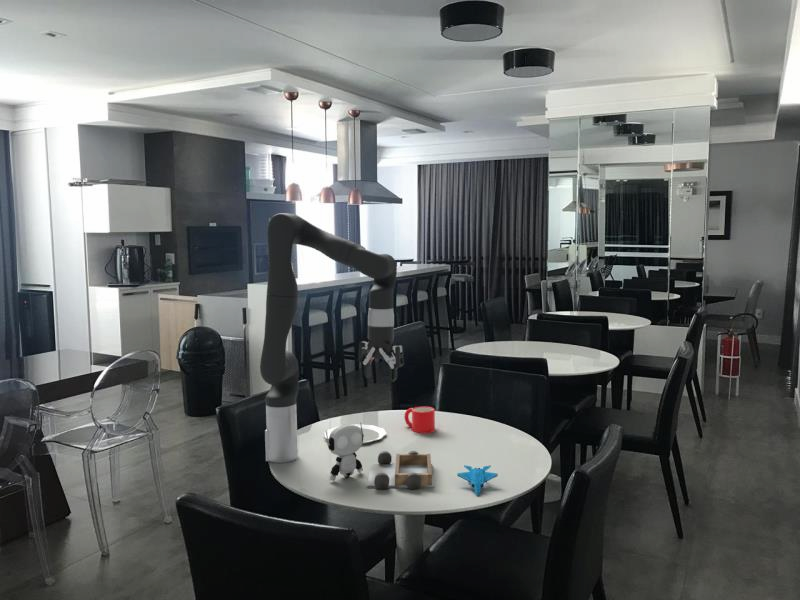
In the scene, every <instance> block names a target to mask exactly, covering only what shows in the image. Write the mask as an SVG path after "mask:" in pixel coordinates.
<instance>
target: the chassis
mask: <svg viewBox="0 0 800 600" xmlns="http://www.w3.org/2000/svg"><path fill="white" fill-rule="evenodd" d="M392 458H393V457H392V454H391V452H389V451H387V450H383V451H380V452H379V453H378V456H377V462H378V463H371V464H370V470H369V473H368V474H369V475H368V480H367V485H366V486H367V487H366V488H370V489H374V488H376V489H377V490H380V491H382V490H386V489H387V488H388V489H389V488H391V489H393V488H395V489H396V488H400V489H401V488H402V489H403V488H405V489H406V488H408V489H409V490H412V491H415V490H417V489H419V488H422V489H423V488H427V489H428V488H435V482H434V469H433V463H432V460H431V458H432V457H431V453H419V452H418V451H416V450H411V451H409V452H408V453H396V456H395V463H392Z"/></svg>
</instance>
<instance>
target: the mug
mask: <svg viewBox="0 0 800 600" xmlns="http://www.w3.org/2000/svg"><path fill="white" fill-rule="evenodd" d="M435 412H436V411H435V408H434V407H432V406H414V407H410V408H408V409H407V410H406V411H405V413H404V421H405V423H406V425H407V426H408V427H409V428H411V430H412V431H413V432H414V433H416V434H417V433H418V434H430V433H432V432H435V430H436V422H435V421H436V420H435V419H436V415H435V414H436V413H435ZM410 414H411V421H410V418H409V415H410Z"/></svg>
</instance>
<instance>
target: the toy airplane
mask: <svg viewBox="0 0 800 600" xmlns="http://www.w3.org/2000/svg"><path fill="white" fill-rule="evenodd" d="M463 467H464V468H465V469H467V471H464V472H457V474H456V475H457V477H459V478H461V479H463V480H465V481H467V482H468V483H470V486H471V487H472V488H473V489H474V492H475V495H476V496H477V497H478V496H479V495H480V493H481V490H482V488H483V487H485V484H488V481H491V480H492V479H495V478H497V477H498V474H499V473H496V472H490V471H488V470H489V469H490V468H492V466H491V465H490V464H489V465H485V466H483V467H482V468H480V467H478V468H477V467H474V468H472V466H470V465H465V464H464V466H463Z"/></svg>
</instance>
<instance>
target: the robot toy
mask: <svg viewBox="0 0 800 600" xmlns="http://www.w3.org/2000/svg"><path fill="white" fill-rule="evenodd" d="M359 424H360V426H361V428H359V427H358V426H355V424H343V425H339V426H340V427H339V426H337V427H338V428H336V429H334V430H333V431H332V432H331V434H330V436H329V439H328V435H327V431H328V430H325V432H326V436H327V439H326V441H327V443H326V445H327V447H328V450H329V451H330V453H331V454H333V455H336V458H335V462H336V463H335V464H334V465H333V466H332V467H331V470H330V476H329V480H330V481H333V482H335V481H336V479H337V477H336V476H339V474H340V475H342V476H343V477H345V478H349V477H350V476H352V475H354V472H355V470H356V471H357V473H359V474H361V473H362V472H363V471H364V470H363V464H362V463H361V461H360V460H359V459H358V458H357V456H358V455H357V453H356V452H358V451H359V450H360V448H361V447H362V446H363V444H362V443H363V442H364V437H365V435H364V430H363V429H362V424H363V423H362V422H359Z"/></svg>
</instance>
